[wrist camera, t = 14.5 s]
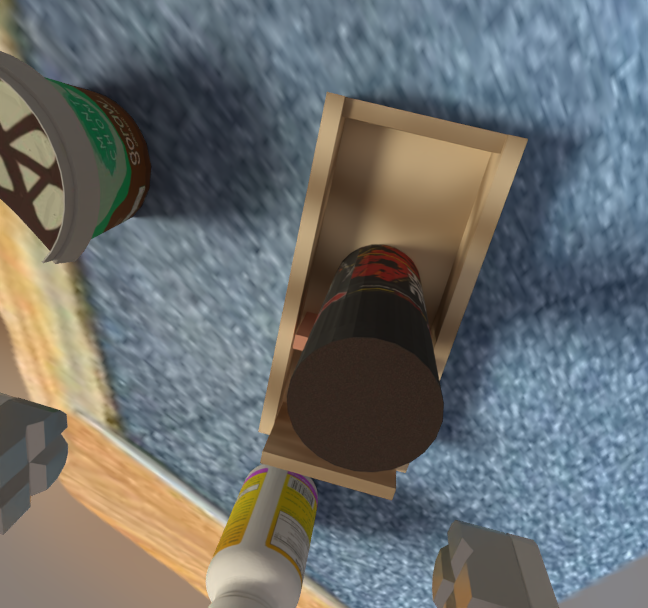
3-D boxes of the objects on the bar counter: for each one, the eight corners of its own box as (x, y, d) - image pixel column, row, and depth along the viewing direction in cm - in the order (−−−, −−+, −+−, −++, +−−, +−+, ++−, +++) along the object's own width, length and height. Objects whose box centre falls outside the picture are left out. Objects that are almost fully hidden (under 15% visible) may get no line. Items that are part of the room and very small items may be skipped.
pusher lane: (335, 97, 28) (318, 86, 22) (510, 138, 28) (545, 139, 21) (272, 401, 37) (245, 459, 30) (404, 438, 36) (406, 504, 30)
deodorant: (317, 293, 32) (257, 414, 18) (369, 226, 30) (347, 304, 16) (384, 342, 32) (376, 496, 18) (439, 279, 30) (478, 401, 16)
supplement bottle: (245, 511, 41) (184, 663, 29) (246, 452, 39) (181, 591, 27) (317, 524, 41) (285, 686, 29) (323, 465, 38) (291, 614, 26)
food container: (204, 181, 31) (124, 200, 22) (145, 233, 33) (50, 271, 24) (77, 23, 29) (-73, -31, 20) (22, 89, 31) (-137, 69, 22)
